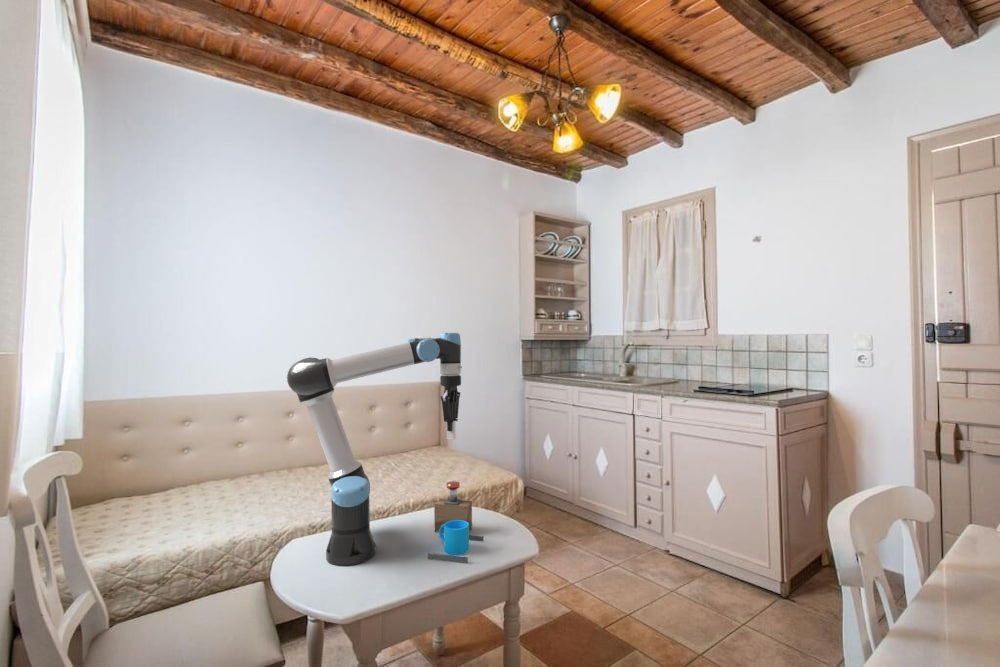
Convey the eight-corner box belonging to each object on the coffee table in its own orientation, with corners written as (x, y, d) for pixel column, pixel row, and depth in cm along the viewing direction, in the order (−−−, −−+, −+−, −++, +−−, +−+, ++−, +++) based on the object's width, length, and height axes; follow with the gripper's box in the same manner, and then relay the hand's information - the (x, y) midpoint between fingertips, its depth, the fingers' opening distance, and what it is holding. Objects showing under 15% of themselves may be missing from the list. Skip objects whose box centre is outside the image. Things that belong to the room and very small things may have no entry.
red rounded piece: (444, 501, 172) (444, 484, 172) (449, 496, 176) (449, 480, 176) (457, 502, 170) (456, 485, 170) (461, 497, 175) (461, 481, 175)
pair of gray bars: (427, 558, 152) (427, 553, 152) (447, 536, 168) (447, 532, 168) (467, 563, 148) (467, 558, 148) (483, 540, 165) (483, 536, 165)
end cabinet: (466, 535, 169) (466, 505, 169) (434, 532, 172) (434, 502, 172) (472, 528, 175) (471, 499, 175) (441, 525, 178) (440, 496, 178)
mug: (474, 548, 158) (474, 523, 158) (456, 557, 152) (456, 531, 152) (448, 539, 166) (448, 515, 166) (430, 547, 160) (430, 522, 160)
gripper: (453, 376, 170) (453, 443, 170) (466, 373, 182) (467, 436, 182) (433, 376, 172) (434, 442, 172) (448, 373, 184) (448, 435, 184)
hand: (451, 439), depth 177 cm, fingers closed
